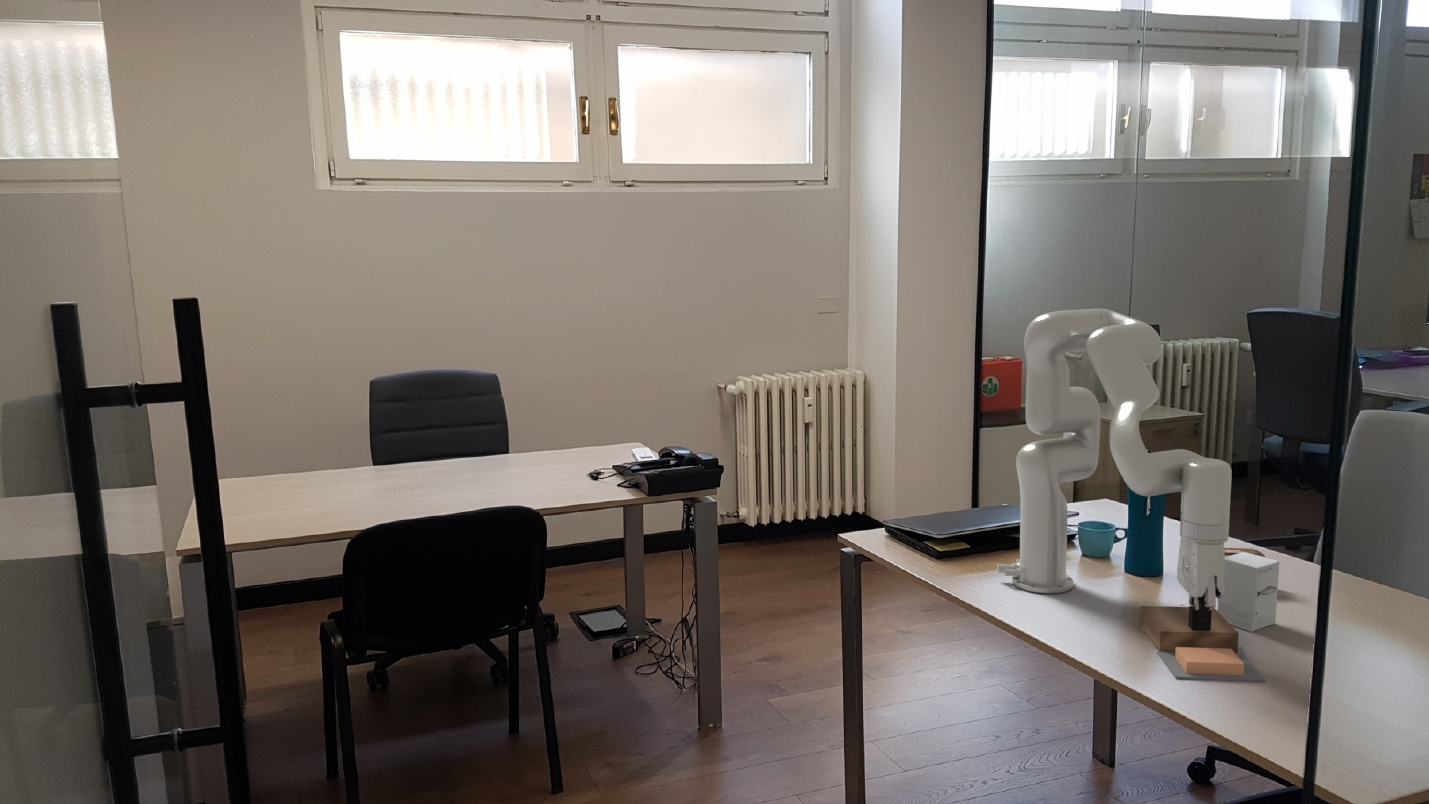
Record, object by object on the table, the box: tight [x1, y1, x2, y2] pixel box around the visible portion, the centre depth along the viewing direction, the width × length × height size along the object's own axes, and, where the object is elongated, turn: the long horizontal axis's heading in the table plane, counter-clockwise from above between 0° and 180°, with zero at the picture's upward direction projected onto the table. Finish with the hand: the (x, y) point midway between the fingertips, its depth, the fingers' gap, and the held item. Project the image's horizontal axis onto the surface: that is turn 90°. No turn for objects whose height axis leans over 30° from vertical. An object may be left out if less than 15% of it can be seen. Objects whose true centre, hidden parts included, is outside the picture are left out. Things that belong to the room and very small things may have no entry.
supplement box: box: [1216, 552, 1280, 633], centre depth 179 cm, size 7×7×13 cm
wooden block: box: [1139, 605, 1239, 654], centre depth 173 cm, size 13×12×4 cm
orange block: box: [1175, 647, 1244, 675], centre depth 161 cm, size 9×6×2 cm, turn 80°
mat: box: [1157, 650, 1266, 683], centre depth 162 cm, size 14×10×1 cm
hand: (1199, 628), depth 167 cm, fingers closed
